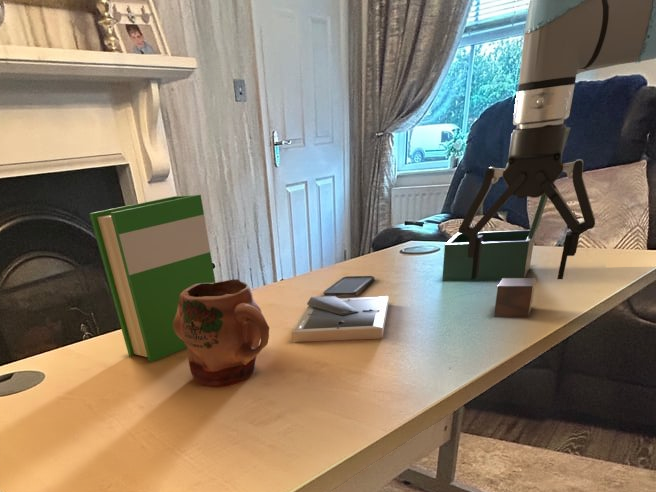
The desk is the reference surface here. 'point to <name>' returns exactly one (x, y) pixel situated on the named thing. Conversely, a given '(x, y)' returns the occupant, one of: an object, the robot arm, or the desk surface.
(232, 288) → the terracotta mug
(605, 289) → the desk surface
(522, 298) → the block
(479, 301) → the desk surface
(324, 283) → the desk surface
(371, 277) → the phone
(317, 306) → the picture frame
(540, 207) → the lid
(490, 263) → the box
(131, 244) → the hardback book
